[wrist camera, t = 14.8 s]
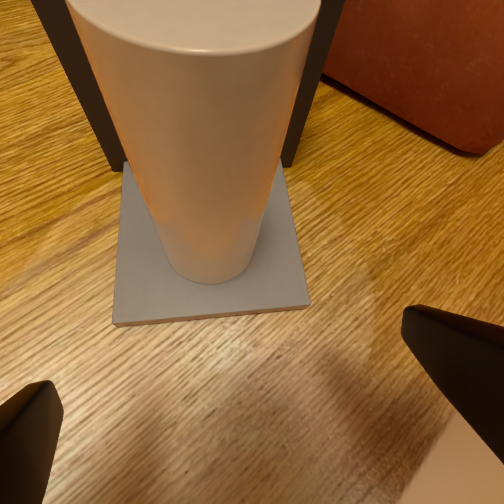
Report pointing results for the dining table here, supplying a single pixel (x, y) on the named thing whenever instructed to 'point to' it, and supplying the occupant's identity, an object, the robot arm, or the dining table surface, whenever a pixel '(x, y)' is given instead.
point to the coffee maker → (141, 227)
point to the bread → (427, 64)
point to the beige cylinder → (200, 113)
